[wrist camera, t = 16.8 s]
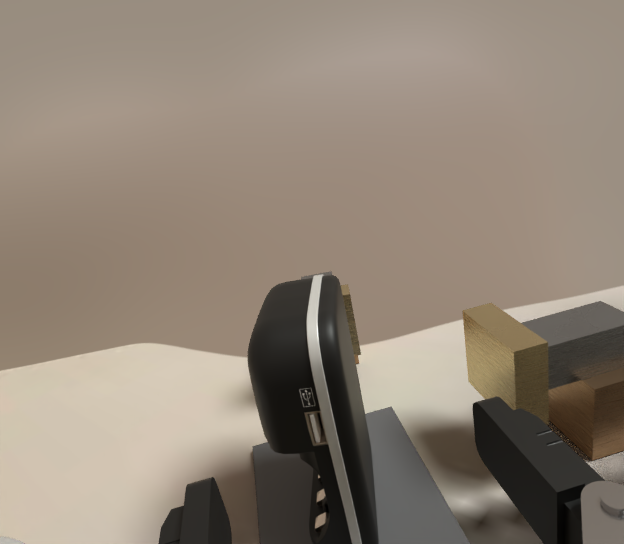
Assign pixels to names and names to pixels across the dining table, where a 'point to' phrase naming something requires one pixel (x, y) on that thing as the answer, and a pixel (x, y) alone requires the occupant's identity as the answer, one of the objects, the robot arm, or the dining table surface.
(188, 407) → the dining table surface
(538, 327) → the set of rectangular blocks
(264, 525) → the plate
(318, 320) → the battery charger
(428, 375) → the dining table surface
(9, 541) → the candlestick
